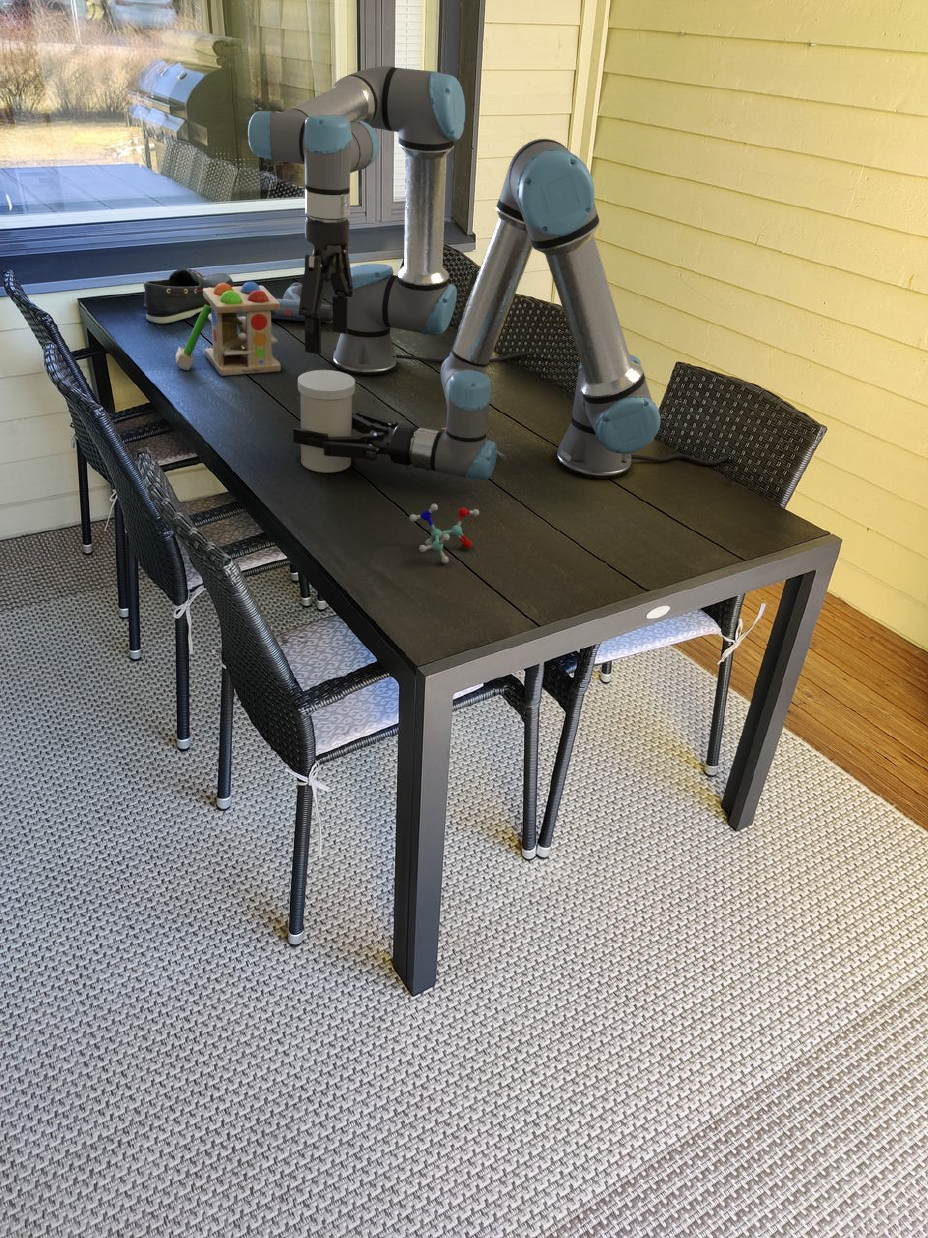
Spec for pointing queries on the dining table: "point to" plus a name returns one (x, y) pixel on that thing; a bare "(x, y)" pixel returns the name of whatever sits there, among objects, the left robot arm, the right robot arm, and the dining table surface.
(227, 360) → the pounding bench toy
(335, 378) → the lid
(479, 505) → the dining table surface
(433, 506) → the molecular model
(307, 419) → the jar
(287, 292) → the power drill
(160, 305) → the boat shoe
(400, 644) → the dining table surface
